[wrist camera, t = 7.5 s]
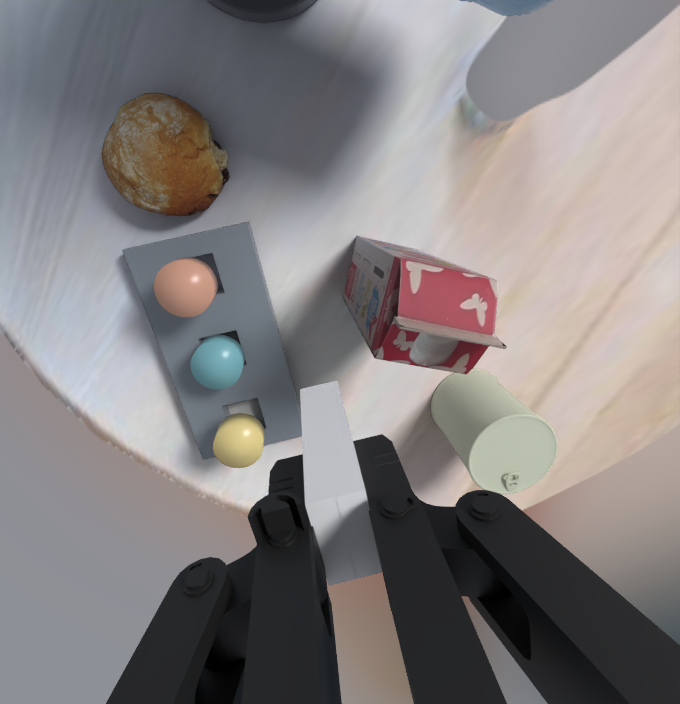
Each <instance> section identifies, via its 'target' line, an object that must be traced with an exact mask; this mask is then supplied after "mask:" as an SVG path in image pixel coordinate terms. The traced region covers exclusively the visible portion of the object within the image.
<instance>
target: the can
mask: <svg viewBox="0 0 680 704" xmlns="http://www.w3.org/2000/svg"><path fill="white" fill-rule="evenodd" d="M431 414H432V417H433V420H434V422H435V423H436V425H437V426H438V427H439V428H440V429H441V430H442V431H443V433H444V434H445V436H446V437H447V439H448V440H449V442H450V443H451V445H452V446H453V448H454V449H455V451H456V453H457V454H458V456H459V457H460V459H461V460H462V462H463V463H464V465H465V467H466V468H467V470H468V472H469V474H470V476H471V478H472V479H473V481H474V482H475V483H476V484H477V485H478V486H479V487H481V488H482V489H484V490H489V491H493V492H496V493H499V494H511V493H516V492H519V491H522V490H525V489H527V488H529V487H531V486H532V485H534V484H535V483H537V482H538V481H539V480H540V479H542V478H543V477H544V476H545V475H546V473H547V472H548V471H549V469H550V468H551V466H552V465H553V462H554V460H555V458H556V454H557V438H556V434H555V432H554V430H553V429H552V427H551V426H550V425H549V424H548V423H547V422H546V421H545V420H543V419H542V418H540V417H539V416H538V415H536V414H535V413H534V412H533V411H532V410H530V409H529V408H528V407H527V406H526V405H525V404H523V403H522V402H521V401H520V400H519V399H518V398H517V397H515V396H514V395H513V394H512V393H511V392H510V391H509V390H507V389H506V388H505V387H504V386H503V385H502V384H501V383H500V382H499V381H498V379H497V378H496V377H495V376H494V375H492V374H491V373H489V372H487V371H485V370H482V369H475V368H473V369H472V370H471V371H470V372H469V373H468V374H467V375H466V374H461V373H453V374H451V375H450V376H448V377H447V378H446V379H444V380H443V381H442V382H441V383H440V385H439V386H438V387H437V389H436V390H435V392H434V395H433V397H432V401H431Z"/></svg>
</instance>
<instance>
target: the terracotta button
mask: <svg viewBox="0 0 680 704" xmlns="http://www.w3.org/2000/svg"><path fill="white" fill-rule="evenodd" d="M217 290H218V282H217V278H216V276H215V274H214V272H213V270H212V269H211V268H210V267H209V266H208V265H207V264H206V263H204V262H203V261H201V260H199V259H196V258H191V257H184V258H179V259H177V260H174V261H173V262H171V263H169V264H167V265H165V266H164V267H162V268H161V269H160V270H159V272H158V273H157V275H156V277H155V281H154V292H155V296H156V298H157V300H158V302H159V303H160V305H161V306H162V307H163V308H164V309H165V310H166V311H168V312H169V313H171V314H173V315H176V316H179V317H194V316H197V315H199V314H201V313H202V312H204V311H205V310H206V309H207V308H208V307H209V305H210V304H211V303H212V301H213V300H214V299H215V297H216V294H217Z"/></svg>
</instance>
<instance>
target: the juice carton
mask: <svg viewBox="0 0 680 704" xmlns="http://www.w3.org/2000/svg"><path fill="white" fill-rule="evenodd" d="M343 299H344V301H345V303H346V305H347V307H348V309H349V311H350V312H351V314H352V316H353V318H354V320H355V322H356V324H357V326H358V328H359V329H360V331H361V333H362V335H363V337H364V339H365V341H366V343H367V345H368V346H369V348H370V350H371V352H372V354H373V356H374V358H375V359H381V360H386V361H392V362H398V363H404V364H409V365H415V366H421V367H426V368H432V369H438V370H443V371H449V372H455V373H461V374H466V375H467V374H468V373H469V372H470V371H471V370H472V369H473V367H474V366H475V365H476V363H477V362H478V360H479V359H480V358H481V356H482V355H483V354H484V352H485V351H486V350H487V348H488V347H489V346H493V347H498V348H503V349H506V346H505V345H504V344H503V343H502V342H501V341H500V340H499V339H498V338H497V337H495V336H494V334H495V323H496V311H497V300H498V281H497V280H494V279H492V278H489V277H487V276H484V275H481V274H479V273H476V272H474V271H471V270H469V269H466V268H463V267H461V266H458V265H456V264H453V263H450V262H448V261H445V260H443V259H440V258H438V257H435V256H432V255H430V254H427V253H425V252H422V251H419V250H417V249H412V248H408V247H404V246H399V245H395V244H390V243H386V242H382V241H377V240H373V239H368V238H364V237H360V236H357V237H356V242H355V246H354V250H353V255H352V259H351V264H350V268H349V272H348V277H347V281H346V285H345V290H344V294H343Z"/></svg>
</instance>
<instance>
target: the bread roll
mask: <svg viewBox="0 0 680 704" xmlns="http://www.w3.org/2000/svg"><path fill="white" fill-rule="evenodd" d="M206 149H207V150H206ZM102 159H103V165H104V168H105V171H106V173H107V175H108V177H109V179H110V181H111V182H112V184H113V185H114V187H115V188H116V189H117V191H118V192H119V193H120V194H121V195H122V196H123V197H124V198H125V199H126V200H127V201H128V202H130V203H131V204H133V205H135V206H137V207H140V208H142V209H145V210H148V211H151V212H156V213H160V214H165V215H171V216H188V215H192V214H195V213H197V212H201V211H204V210H206V209H207V208H209V206H210V205H211V204H212V203H213V201H214V200H215V199H216V197H218V195H219V194H220V192H221V190H222V188H223V185H224V184H225V183H226V182H227V181H228V179H229V177H230V176H229V172H228V170H227V169H226V167H227V165H228V163H227V161H228V155H227V153H226V151H225V150H222V148H221V146H220V145H219V144H218V143H217V142H216V141H215V140H214V139H213V136H212V130H211V128H210V125H209V123H208V121H207V120H206V119H204V118H203V117H202V114H200V113H199V112H198V111H197V110H195V109H194V108H193V107H191V106H190V105H189V104H188V103H186V102H184V101H182V100H180V99H178V98H176V97H172V96H170V95H166V94H161V93H145V94H143V95H141V96H139V97H138V98H135V99H133V100H131V101H129V102H127V103H126V104H125V105H123V106H122V107H120V108H119V111H118V113H117V116H116V117H115V122H114V123H113V124H112V125H111V127H110V130H109V132H108V134H107V136H106V138H105V141H104V145H103V148H102Z"/></svg>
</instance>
